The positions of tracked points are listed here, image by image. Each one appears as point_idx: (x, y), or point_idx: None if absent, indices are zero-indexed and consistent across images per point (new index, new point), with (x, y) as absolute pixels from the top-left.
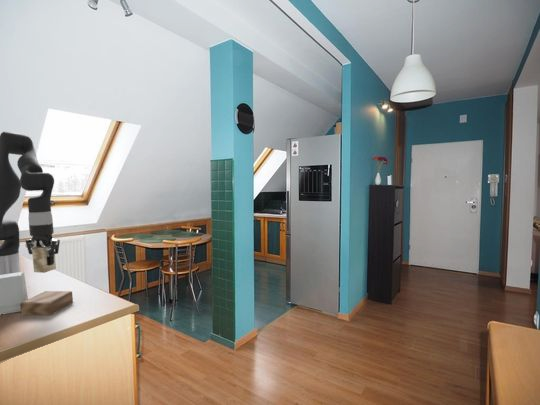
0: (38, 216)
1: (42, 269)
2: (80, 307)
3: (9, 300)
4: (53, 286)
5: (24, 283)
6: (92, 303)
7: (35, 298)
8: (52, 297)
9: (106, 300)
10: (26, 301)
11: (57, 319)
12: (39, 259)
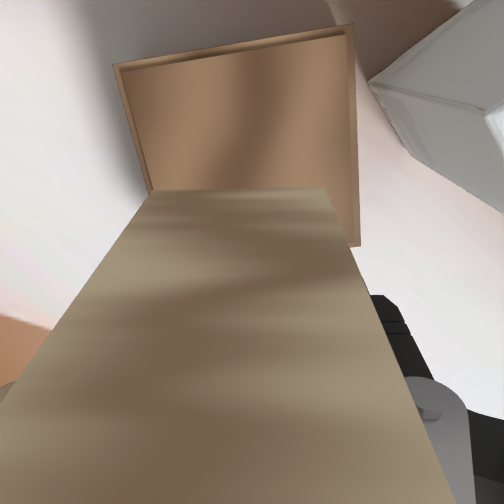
0: None
1: (177, 206)
2: (67, 184)
3: (469, 26)
4: (479, 381)
5: (468, 174)
6: (54, 238)
7: (305, 120)
8: (194, 158)
9: (19, 280)
10: (323, 57)
11: (32, 13)
12: (190, 288)
